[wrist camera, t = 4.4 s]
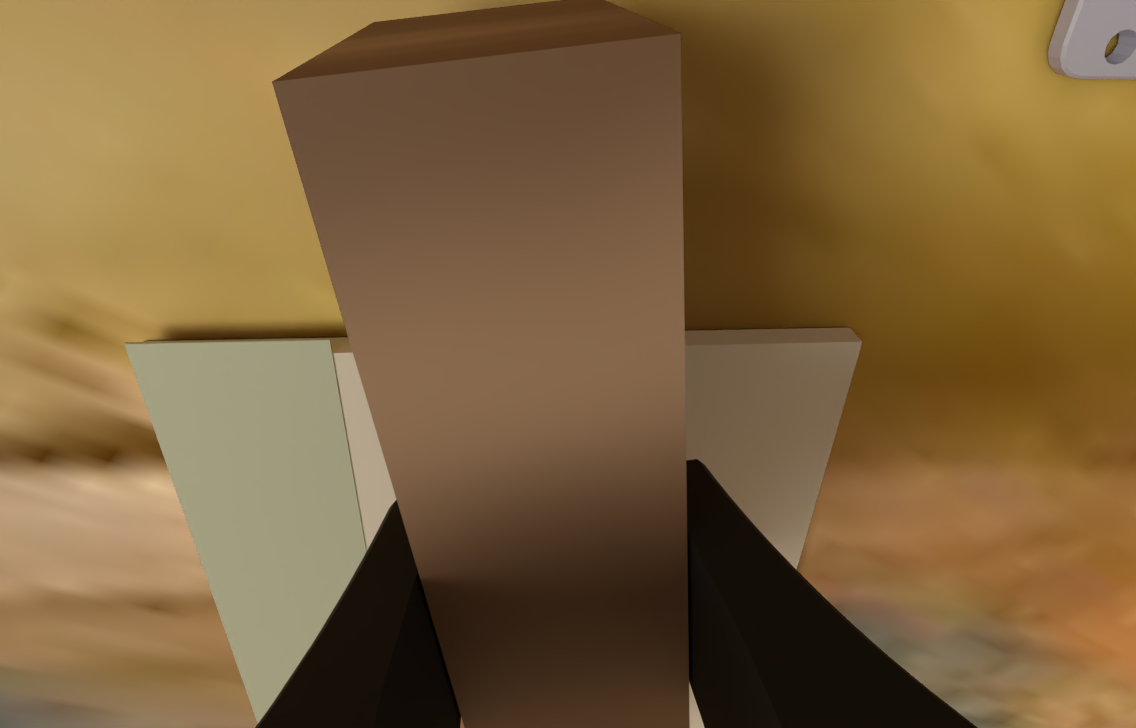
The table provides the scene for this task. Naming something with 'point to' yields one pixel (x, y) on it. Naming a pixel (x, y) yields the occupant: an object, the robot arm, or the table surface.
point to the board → (361, 479)
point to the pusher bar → (520, 338)
